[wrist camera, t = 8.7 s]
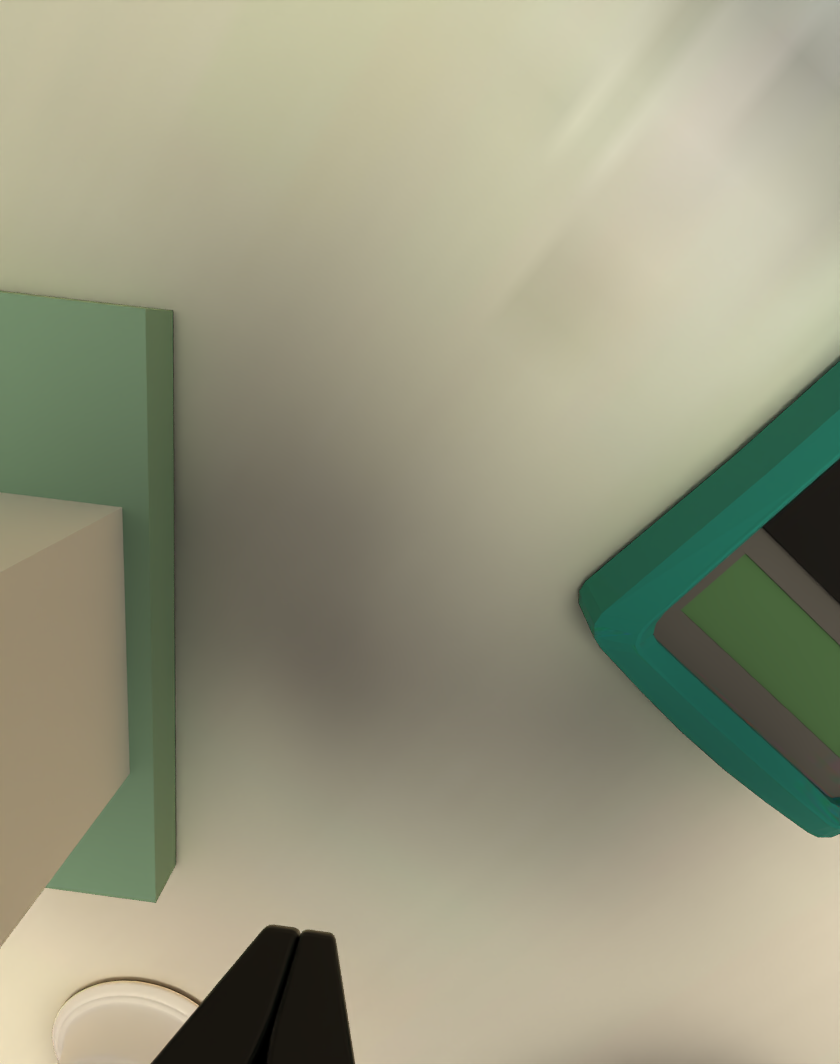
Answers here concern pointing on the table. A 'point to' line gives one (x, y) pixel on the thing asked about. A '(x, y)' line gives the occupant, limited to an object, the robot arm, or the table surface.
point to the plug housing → (57, 685)
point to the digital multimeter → (745, 612)
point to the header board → (148, 535)
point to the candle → (118, 1023)
